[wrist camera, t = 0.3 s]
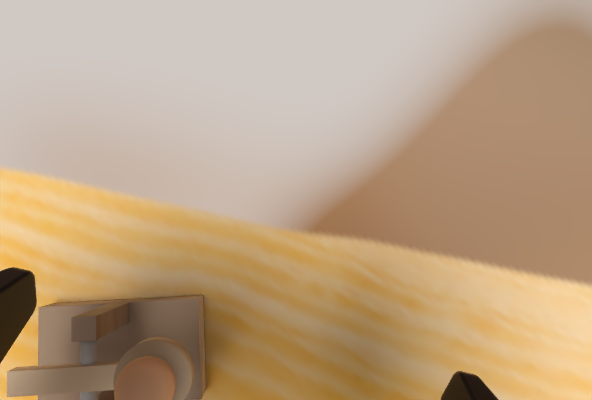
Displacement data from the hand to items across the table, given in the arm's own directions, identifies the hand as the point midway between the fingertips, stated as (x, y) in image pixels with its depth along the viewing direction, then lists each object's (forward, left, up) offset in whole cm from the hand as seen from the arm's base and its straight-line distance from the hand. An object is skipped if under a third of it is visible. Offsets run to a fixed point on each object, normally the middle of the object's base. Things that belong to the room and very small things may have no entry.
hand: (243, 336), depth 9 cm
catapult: (-2, +8, -15) cm, 17 cm away
